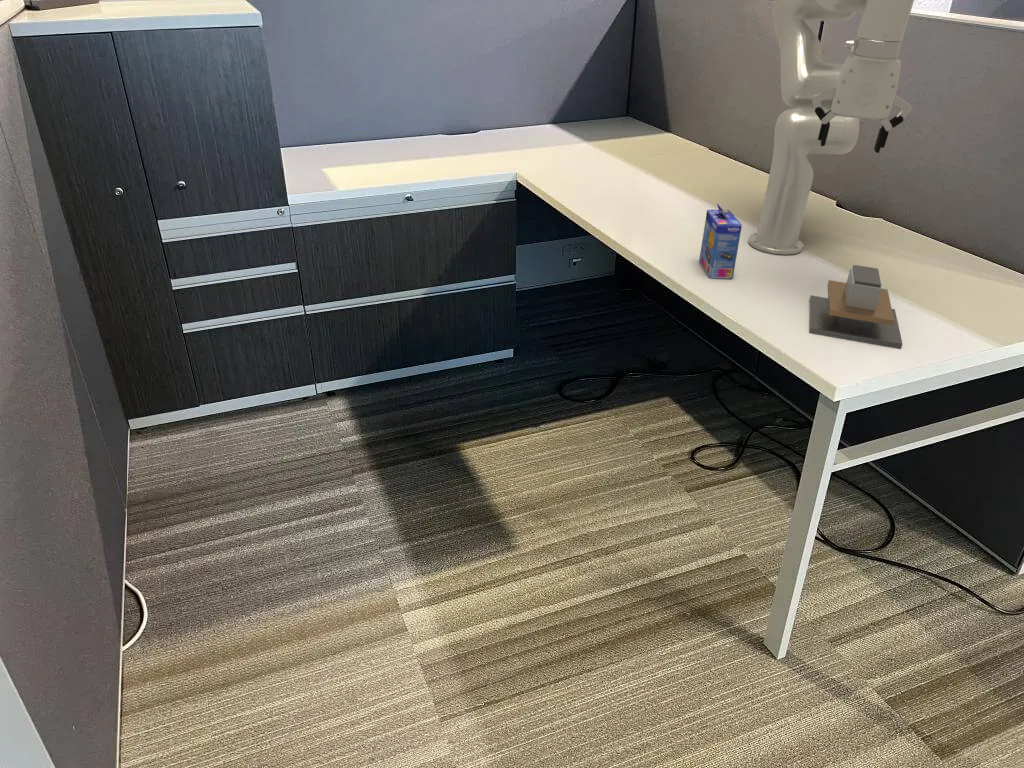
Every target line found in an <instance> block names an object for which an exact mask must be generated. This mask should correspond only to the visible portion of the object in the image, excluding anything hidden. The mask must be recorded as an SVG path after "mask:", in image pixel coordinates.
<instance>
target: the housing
mask: <svg viewBox="0 0 1024 768" xmlns="http://www.w3.org/2000/svg"><path fill="white" fill-rule="evenodd" d="M846 279H847V280H846V282H845V283H846V286H845V295H846V306H850V307H856V308H862V309H868V310H874V311H875V309H876V306H877V303H878V300H879V297H880V294H881V291H882V289H883V287H882V286H883V285H882V282H881V277H880V270H879V268H877V267H870V266H863V265H858V264H857V265H856V264H853V265H852V266H851V267H850V270H849V273H848V276H847V278H846Z"/></svg>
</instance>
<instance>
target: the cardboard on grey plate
mask: <svg viewBox="0 0 1024 768" xmlns="http://www.w3.org/2000/svg"><path fill="white" fill-rule="evenodd" d="M826 286H827V287H826V288H827V297H824V296H823V297H822V296H817V295H812V294H811V295H810V297H809V302H808V303H809V305H808V307H809V308H808V309H809V313H808V315H809V317H808V318H809V320H808V321H809V323H808V324H809V326H808V331H809V334H815V335H821V336H824V337H831V338H837V339H844V340H849V341H854V342H861V343H866V344H872V345H876V346H883V347H888V348H894V349H899V350H901V349H902V347H903V339H902V334H901V331H900V326H899V321H898V318H897V317H898V316H897V313H896V309H895V308H892V303H891V299H890V295H889V294H890V293H889V290H888V288H882V291H881V294H880V297H879V300H878V303H877V306H876V309H875V311H874V310H868V309H862V308H856V307H850V306H846V295H845V286H846V282H843V281H836V280H831V279H828V281H827V285H826Z"/></svg>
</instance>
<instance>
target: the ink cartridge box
mask: <svg viewBox="0 0 1024 768" xmlns="http://www.w3.org/2000/svg"><path fill="white" fill-rule="evenodd" d="M716 205H717V208H718V209H706V216H705V222H704V227H703V234H702V241H701V247H700V253H699V258H698V262H699V264H700V265H701V267H702V269H703V271H704V272H705V274H706V276H707V278H709V279H728V280H731V279H733V278H734V274H735V268H736V263H737V262H736V261H737V256H738V251H739V245H740V238H741V234H742V233H741V232H742V228H743V227H742V226H743V225H742V223H741V222H740V221H739V219H737V218H736V217H735V214H733V212H732V211H731V210H729V209H723V208H722V206H720V204H719V203H716Z"/></svg>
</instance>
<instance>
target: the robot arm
mask: <svg viewBox="0 0 1024 768" xmlns="http://www.w3.org/2000/svg"><path fill="white" fill-rule="evenodd" d="M914 1H915V0H773V7H772V8H773V9H772V22H773V28H774V29H773V30H774V33H775V37H776V40H777V43H778V47H779V51H780V91H781V98H782V101H783V103H785V105H787V106H789V107H791V108H787V109H786V110H784V111H782V112H781V114H779V116H778V117H777V119H776V123H775V128H774V139H773V140H774V141H773V152H772V158H771V159H772V160H771V165H770V170H769V175H768V179H767V185H766V188H765V189H766V190H765V193H764V199H763V202H762V206H761V207H762V208H761V211H760V217H759V220H758V227H757V230H756V232H754V233H752V234H750V235H749V236H748V240H747V241H748V243H749V245H750V246H751V247H752V248H754V249H757V250H759V251H761V252H764V253H769V254H775V255H784V256H785V255H796V254H799V253H801V252H802V251H803V249H804V242H802V241H801V240H800V239H799V237H800V232H801V229H802V225H803V220H804V217H805V213H806V208H807V205H808V201H809V196H810V193H811V188H812V184H813V180H814V169H813V167H812V165H811V163H810V162H809V160H808V157H807V156H808V155H813V154H814V155H816V154H817V155H819V154H820V155H845V154H848V153H849V152H851V151H852V150H853V149H854V148H855V146H856V144H857V142H858V138H859V135H860V134H859V133H860V120H872V121H873V120H874V121H880V123H881V125H882V126H881V127H880V128H879V130H878V133H877V137H876V140H875V143H874V146H873V147H874V148H873V150H874V152H875V153H876V154H879V153H880V151H881V148H882V149H884V148H885V146H886V143H887V140H888V136H889V134H890V131H892V130H893V129H894V128H896V127H897V126H899V125H900V124H901V123H903V121H904V120H905V119H906V118H907V117H908V116H909V115H910V114H911V112H912V111H913V106H912V105H911V104H909V103H908V102H907V101H906V100H904V98H903V99H902V98H901V97H900V96H899V95H898V94H897V90H898V85H899V82H900V81H899V80H900V74H901V69H902V68H901V67H902V60H900V59H898V57H899V54H900V50H901V47H902V43H903V39H904V35H905V33H906V29H907V25H908V23H909V19H910V15H911V12H912V9H913V5H914ZM857 13H858V14H860V13H861V18H860V22H859V25H858V29H857V34H856V36H855V38H854V39H851V40H850V39H848V40H846V41H845V45H844V49H848V50H849V51H851V53H852V54H849V55H847V56H846V58H845V61H844V63H843V64H842V63H827V62H824V61H823V59H822V52H821V51H822V50H821V48H822V46H821V42H820V40H819V37H818V36H817V35H816V33H815V31H814V30H813V29H812V28H811V27H810V26H809V25H808V24H807V23H806V21H816V22H818V21H821V22H832V23H834V22H836V23H837V22H838V23H840V22H845V21H848V20H850V19H851V18H853V17H854V16H856V14H857ZM894 105H895V106H896V107H898V108H899V109H900V111H899V113H898V114H897V115H895V116H894V117H892V118H891V119H889V117H890V115H891V113H892V110H893V109H892V108H893V107H894Z"/></svg>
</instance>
